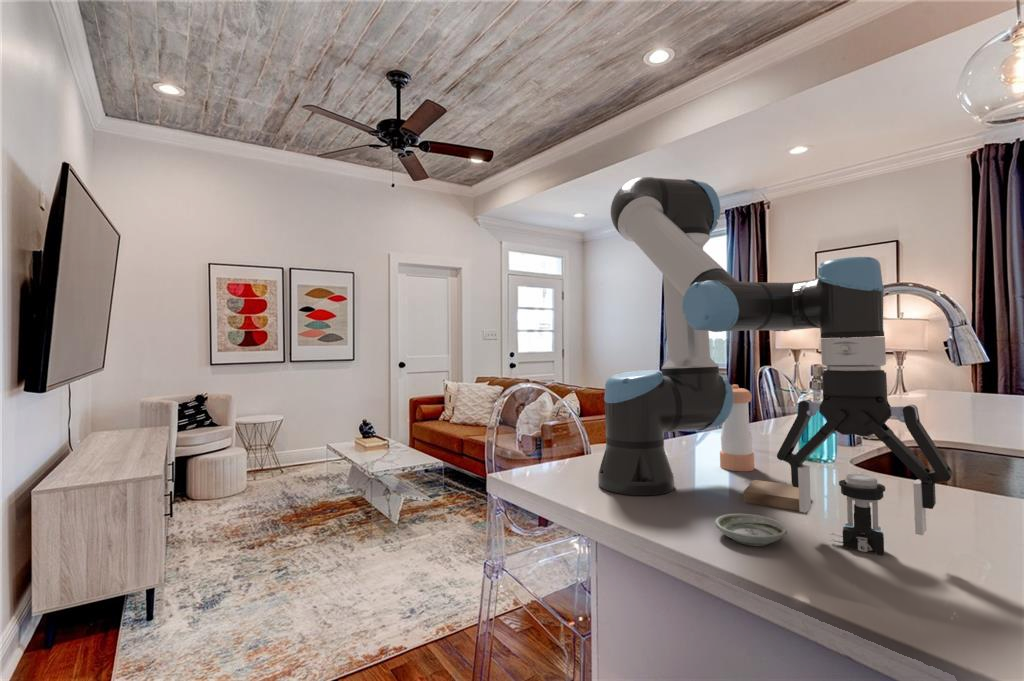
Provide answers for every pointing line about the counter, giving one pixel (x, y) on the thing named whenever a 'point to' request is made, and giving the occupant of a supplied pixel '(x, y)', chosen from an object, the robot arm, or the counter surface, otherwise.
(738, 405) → the pepper shaker
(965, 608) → the counter surface
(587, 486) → the counter surface
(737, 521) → the saucer
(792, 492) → the wooden block
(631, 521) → the counter surface
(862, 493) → the push button
